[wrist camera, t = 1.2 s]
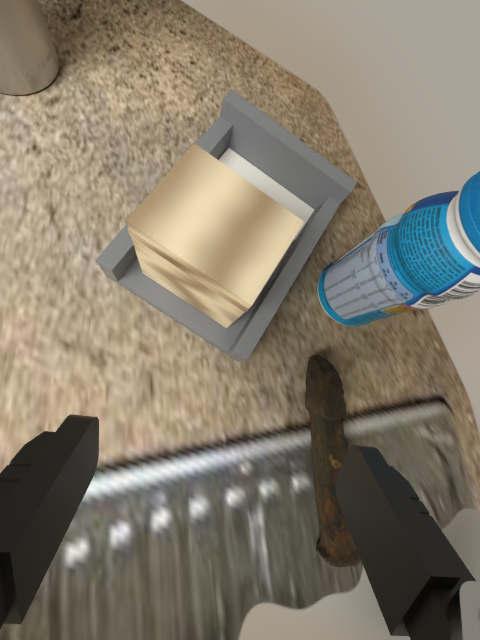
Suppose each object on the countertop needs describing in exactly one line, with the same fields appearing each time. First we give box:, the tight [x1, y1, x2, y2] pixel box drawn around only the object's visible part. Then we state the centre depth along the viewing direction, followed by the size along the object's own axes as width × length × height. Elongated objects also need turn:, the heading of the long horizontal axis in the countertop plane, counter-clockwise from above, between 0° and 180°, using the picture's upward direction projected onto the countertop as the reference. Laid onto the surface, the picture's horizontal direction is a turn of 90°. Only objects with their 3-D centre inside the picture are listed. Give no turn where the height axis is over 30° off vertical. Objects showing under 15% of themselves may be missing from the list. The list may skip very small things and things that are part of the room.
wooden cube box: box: [126, 143, 304, 329], centre depth 25 cm, size 10×8×10 cm
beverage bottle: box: [317, 171, 480, 326], centre depth 25 cm, size 8×8×20 cm
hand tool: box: [305, 355, 361, 567], centre depth 28 cm, size 19×4×5 cm, turn 2°
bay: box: [96, 89, 357, 362], centre depth 29 cm, size 16×22×6 cm
